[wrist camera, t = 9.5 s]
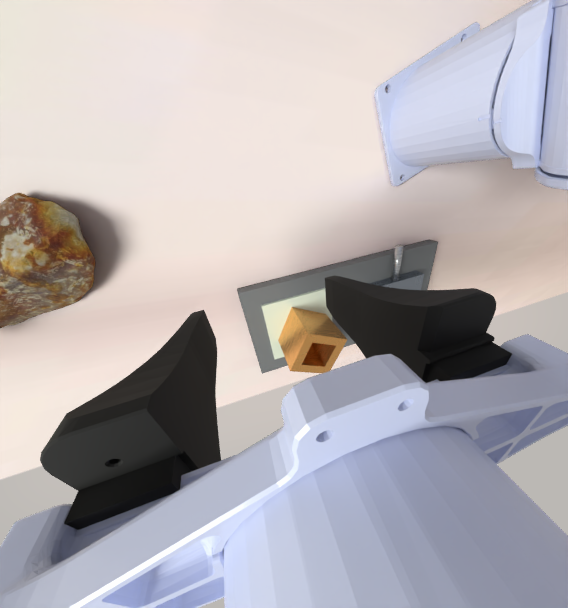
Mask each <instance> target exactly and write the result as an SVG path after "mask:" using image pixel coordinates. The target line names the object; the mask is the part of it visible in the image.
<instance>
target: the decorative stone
mask: <svg viewBox="0 0 568 608" xmlns="http://www.w3.org/2000/svg"><path fill="white" fill-rule="evenodd" d="M94 267H95V258H94V257H93V255H92V252H91V251H90V249H89V247H88V245H87V243H86V241H85V240H84V238H83V236H82V233H81V230H80V227H79V221H78V218H77V217H76V216H75V215H74V214H72V213H71V212H69V211H67V210H66V209H64V208H63V207H61V206H59V205H58V204H56V203H54V202H53V201H43V200H40V199H37V198H33V197H28V196H26V195H25V194H22V193H16V194H14V195H12V196H10V197H8V198H7V199H6V200H4V201H3V202H2V203H0V328H2V327H4V326H6V325H15V324H18V323H20V322H23V321H25V320H27V319H28V318H30V317H34V316H37V315H39V314H42V313H46V312H50V311H53V310H56V309H59V308H63V307H65V306H68V305H71V304H73V303H75V302H77V301H79V300H80V299H81V298H82V296H84V295H85V293H86V292H87V291H88V290H90V289H91V287H92V286H93V281H94V275H93V273H94Z"/></svg>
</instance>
